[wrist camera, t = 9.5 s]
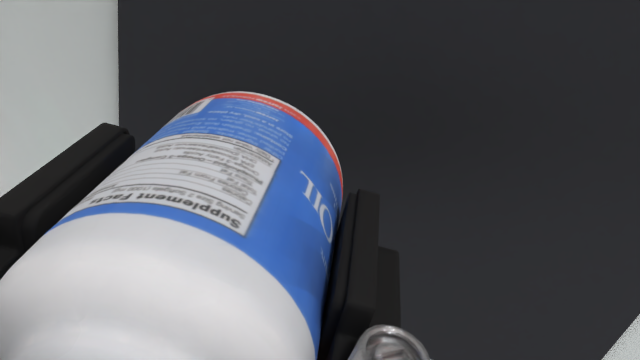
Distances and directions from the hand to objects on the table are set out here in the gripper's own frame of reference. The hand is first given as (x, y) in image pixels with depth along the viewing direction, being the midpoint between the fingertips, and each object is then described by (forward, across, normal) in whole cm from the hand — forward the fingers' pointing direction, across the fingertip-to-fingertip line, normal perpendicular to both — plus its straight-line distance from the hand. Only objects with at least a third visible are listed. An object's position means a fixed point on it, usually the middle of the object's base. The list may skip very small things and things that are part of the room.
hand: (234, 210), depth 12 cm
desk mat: (+6, -5, +1) cm, 8 cm away
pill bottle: (+2, 0, 0) cm, 2 cm away
